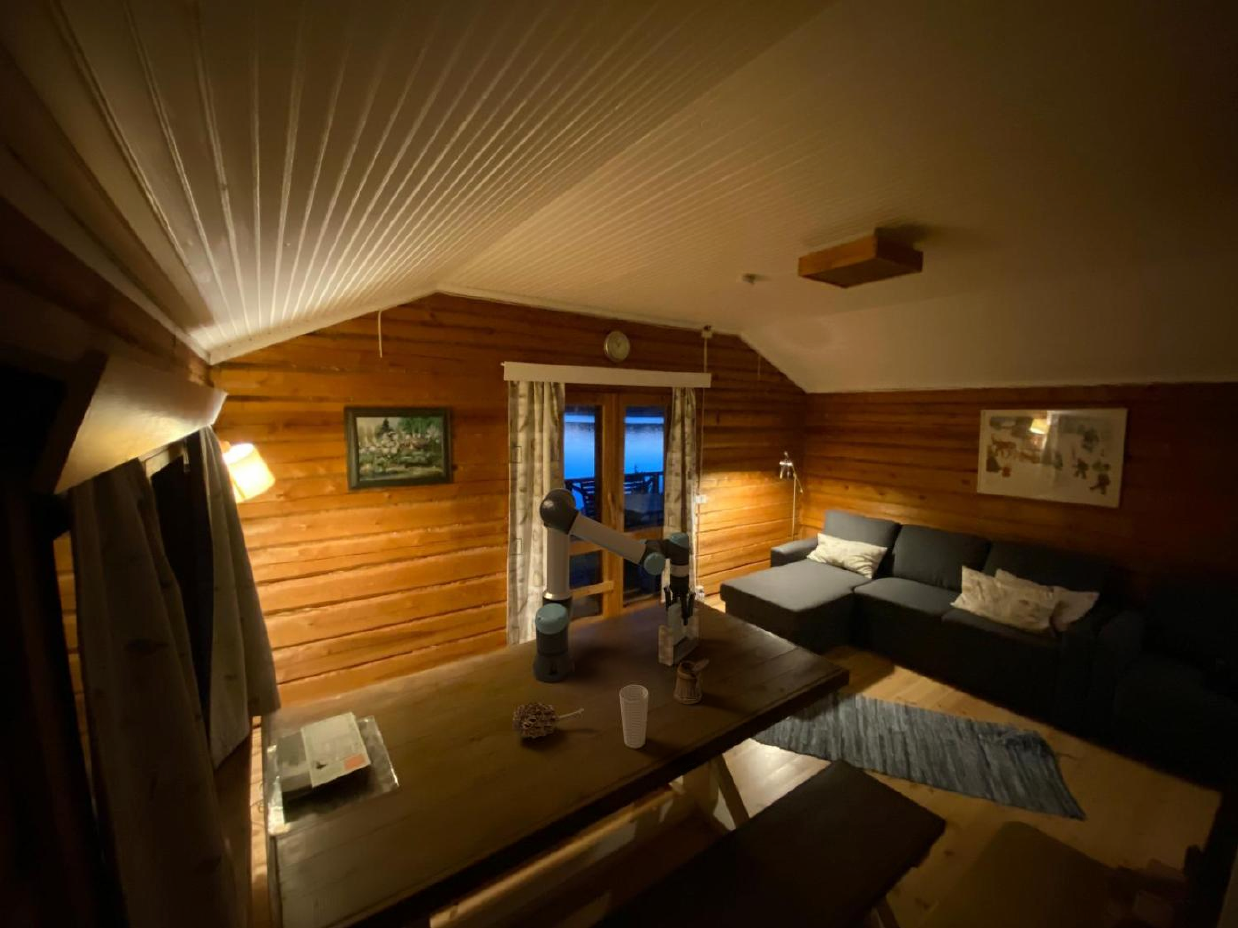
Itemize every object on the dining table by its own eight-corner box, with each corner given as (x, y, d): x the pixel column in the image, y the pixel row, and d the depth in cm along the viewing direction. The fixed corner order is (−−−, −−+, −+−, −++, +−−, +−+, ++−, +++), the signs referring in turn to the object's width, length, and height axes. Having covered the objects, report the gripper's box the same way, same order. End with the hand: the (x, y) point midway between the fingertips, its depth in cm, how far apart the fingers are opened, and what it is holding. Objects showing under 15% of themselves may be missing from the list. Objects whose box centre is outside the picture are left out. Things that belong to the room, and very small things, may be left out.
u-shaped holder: (656, 660, 192) (655, 626, 190) (684, 637, 210) (684, 605, 208) (673, 667, 188) (673, 631, 186) (701, 642, 205) (701, 609, 203)
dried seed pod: (515, 751, 146) (513, 719, 144) (510, 730, 155) (509, 700, 153) (589, 733, 153) (588, 702, 151) (581, 713, 162) (580, 685, 160)
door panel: (667, 642, 194) (667, 607, 192) (683, 630, 204) (683, 597, 202) (675, 644, 192) (675, 609, 190) (690, 632, 202) (690, 598, 200)
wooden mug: (694, 715, 160) (694, 662, 157) (668, 693, 172) (668, 643, 169) (715, 706, 165) (716, 654, 162) (689, 685, 176) (690, 637, 173)
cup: (614, 741, 149) (613, 692, 147) (634, 727, 155) (633, 680, 153) (635, 756, 143) (634, 705, 141) (655, 741, 149) (655, 692, 147)
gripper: (656, 572, 196) (656, 629, 199) (693, 580, 186) (693, 641, 190) (666, 566, 202) (666, 622, 205) (703, 574, 192) (702, 633, 196)
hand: (679, 631), depth 198 cm, fingers closed on door panel, 3 cm apart
